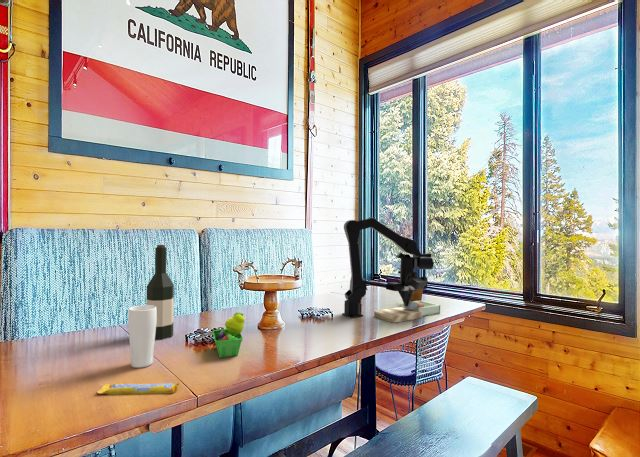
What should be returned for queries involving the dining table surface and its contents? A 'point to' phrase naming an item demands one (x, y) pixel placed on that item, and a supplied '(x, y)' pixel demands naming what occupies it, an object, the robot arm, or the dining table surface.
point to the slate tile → (411, 306)
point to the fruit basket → (230, 336)
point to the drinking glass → (142, 334)
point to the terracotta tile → (419, 305)
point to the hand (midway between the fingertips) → (406, 306)
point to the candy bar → (138, 388)
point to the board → (397, 314)
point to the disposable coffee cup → (417, 295)
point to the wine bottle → (161, 295)
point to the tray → (427, 308)
